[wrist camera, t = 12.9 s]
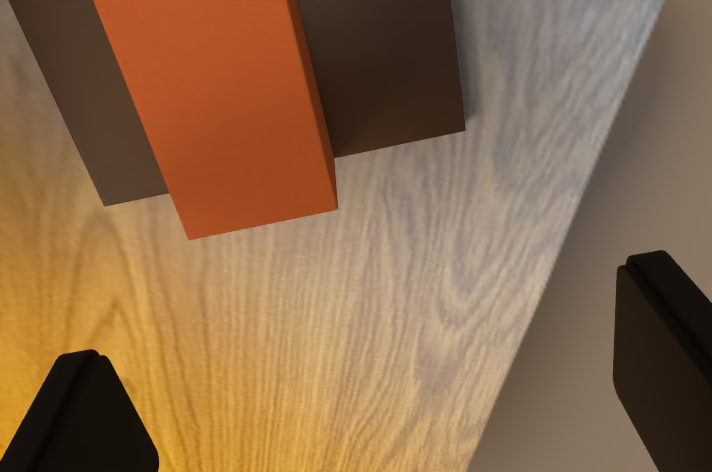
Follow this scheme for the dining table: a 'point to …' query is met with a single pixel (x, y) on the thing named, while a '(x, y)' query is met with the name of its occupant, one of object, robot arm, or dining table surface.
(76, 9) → the board
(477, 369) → the dining table surface
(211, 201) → the orange block
